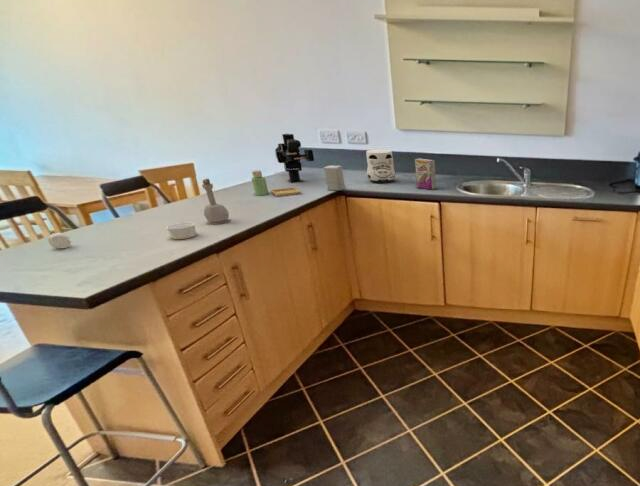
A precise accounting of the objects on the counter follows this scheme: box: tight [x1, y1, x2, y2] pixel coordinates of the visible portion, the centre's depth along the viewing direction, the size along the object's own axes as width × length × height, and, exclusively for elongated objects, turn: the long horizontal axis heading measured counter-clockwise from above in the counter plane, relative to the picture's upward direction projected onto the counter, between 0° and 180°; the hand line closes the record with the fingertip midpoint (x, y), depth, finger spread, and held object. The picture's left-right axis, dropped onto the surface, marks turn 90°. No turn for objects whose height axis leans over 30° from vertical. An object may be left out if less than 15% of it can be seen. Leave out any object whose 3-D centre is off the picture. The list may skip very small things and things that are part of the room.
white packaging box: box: [323, 165, 346, 191], centre depth 236 cm, size 7×7×13 cm
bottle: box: [250, 176, 269, 196], centre depth 221 cm, size 6×6×12 cm
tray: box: [270, 186, 302, 198], centre depth 227 cm, size 12×12×1 cm
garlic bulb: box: [47, 232, 72, 249], centre depth 147 cm, size 6×6×5 cm
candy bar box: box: [414, 157, 437, 191], centre depth 244 cm, size 11×5×16 cm, turn 65°
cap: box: [251, 169, 263, 178], centre depth 219 cm, size 4×4×3 cm
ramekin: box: [166, 222, 197, 240], centre depth 160 cm, size 9×9×4 cm
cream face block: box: [365, 149, 397, 183], centre depth 258 cm, size 17×17×18 cm
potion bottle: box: [201, 178, 230, 225], centre depth 175 cm, size 9×9×18 cm
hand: (298, 158), depth 229 cm, fingers open, 9 cm apart
